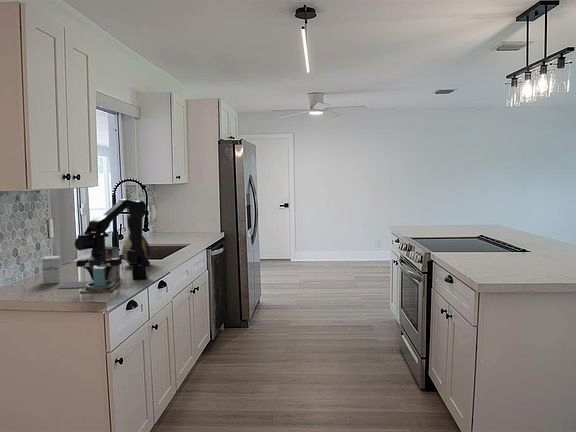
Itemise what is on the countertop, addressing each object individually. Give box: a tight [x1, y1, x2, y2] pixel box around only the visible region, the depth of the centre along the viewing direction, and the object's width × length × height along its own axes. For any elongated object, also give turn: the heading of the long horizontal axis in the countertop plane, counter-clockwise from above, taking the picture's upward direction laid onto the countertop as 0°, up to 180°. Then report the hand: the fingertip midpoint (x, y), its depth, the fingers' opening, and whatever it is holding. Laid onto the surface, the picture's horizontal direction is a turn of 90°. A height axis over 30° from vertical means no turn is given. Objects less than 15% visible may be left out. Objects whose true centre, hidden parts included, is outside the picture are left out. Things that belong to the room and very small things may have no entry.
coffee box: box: [97, 245, 121, 281], centre depth 234 cm, size 9×6×16 cm
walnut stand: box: [79, 282, 121, 294], centre depth 213 cm, size 14×14×1 cm
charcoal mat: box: [57, 280, 94, 290], centre depth 220 cm, size 12×12×1 cm
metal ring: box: [86, 280, 116, 290], centre depth 213 cm, size 12×12×2 cm
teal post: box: [93, 266, 108, 287], centre depth 213 cm, size 4×4×10 cm
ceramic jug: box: [121, 214, 151, 268], centre depth 265 cm, size 17×15×30 cm
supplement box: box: [41, 255, 63, 285], centre depth 227 cm, size 7×7×13 cm
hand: (100, 280), depth 213 cm, fingers open, 6 cm apart
